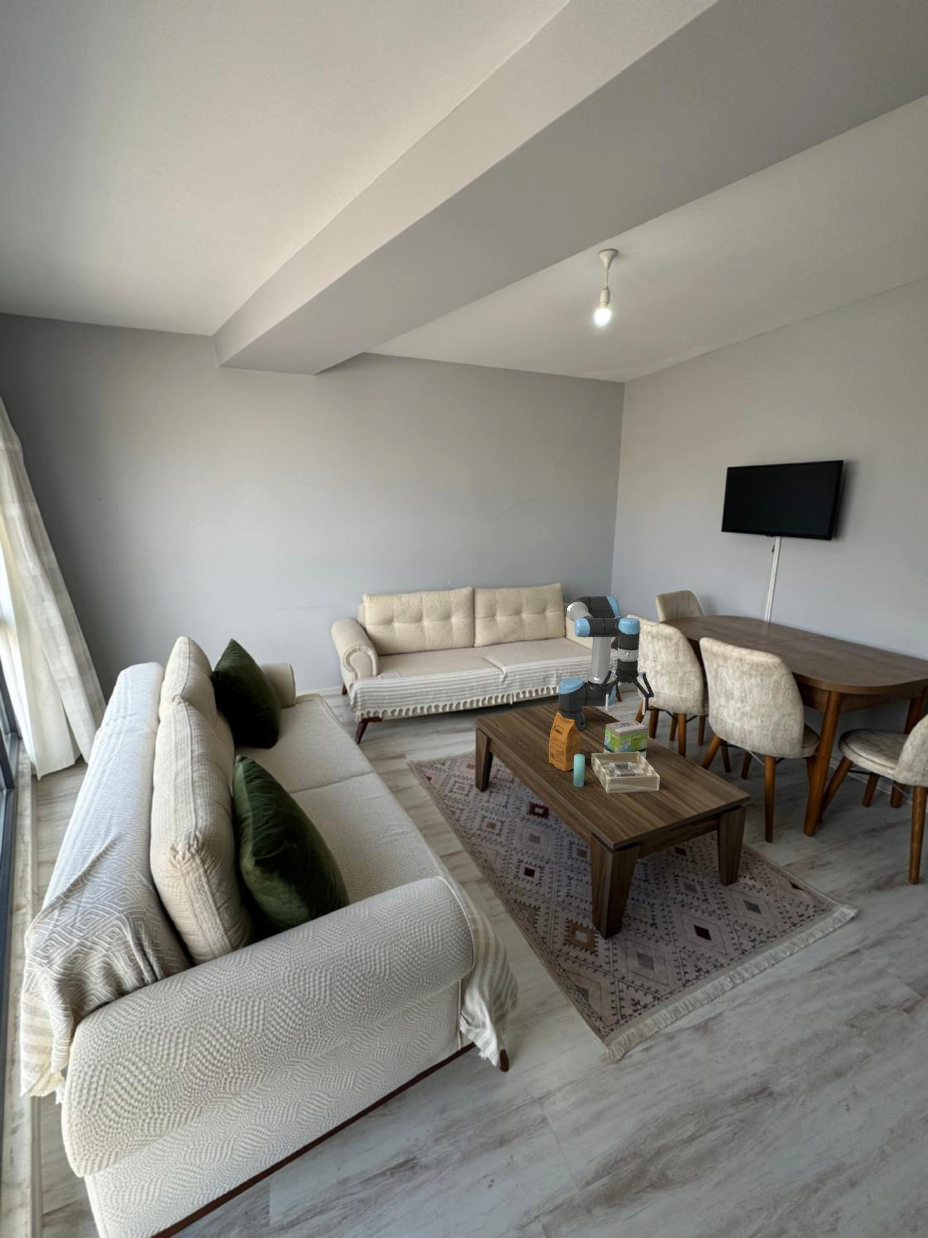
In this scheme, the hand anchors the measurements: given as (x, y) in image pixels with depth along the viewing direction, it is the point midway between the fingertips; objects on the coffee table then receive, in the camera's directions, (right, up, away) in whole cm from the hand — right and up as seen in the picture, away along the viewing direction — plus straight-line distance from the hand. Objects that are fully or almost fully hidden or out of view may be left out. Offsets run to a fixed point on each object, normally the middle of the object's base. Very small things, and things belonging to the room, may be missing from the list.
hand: (624, 711), depth 195 cm
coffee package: (-20, -26, +17) cm, 37 cm away
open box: (+1, -28, +6) cm, 28 cm away
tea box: (+7, -24, +23) cm, 34 cm away
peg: (-18, -29, +2) cm, 34 cm away
